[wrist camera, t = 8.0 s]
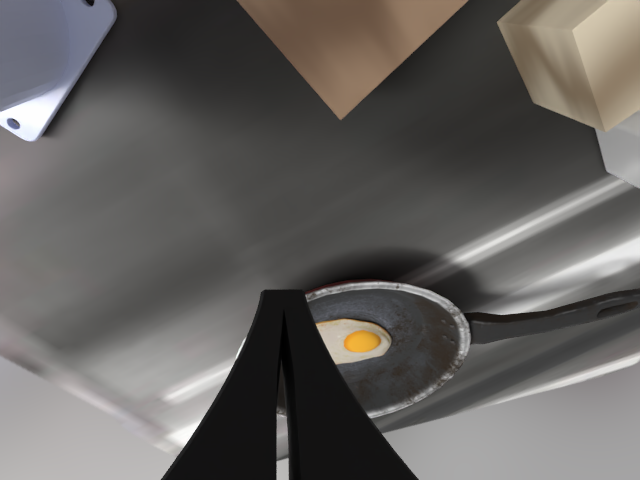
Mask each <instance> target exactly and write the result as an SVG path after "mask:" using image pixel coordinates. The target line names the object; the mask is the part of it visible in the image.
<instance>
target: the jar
mask: <svg viewBox="0 0 640 480" xmlns="http://www.w3.org/2000/svg"><path fill="white" fill-rule="evenodd" d="M595 131H596V135H597V138H598V142H599V146H600V150H601V154H602V158H603V161H604V165H605V169H606V171H607V172H608V173H610V174H612V175H614V176H616V177H618V178H620V179H622V180H624V181H626V182H627V183H629V184H631V185H633V186H635V187H637V188H639V189H640V110H638V111H637V112H635V113H634V114H632V115H631V116H629V117H628V118H626V119H625V120H623V121H622V122H621V123H619V124H618V125H616V126H615V127H613V128H612V129H610V130H609V131H607V132H603V131H601V130H598V129H596V128H595Z"/></svg>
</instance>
